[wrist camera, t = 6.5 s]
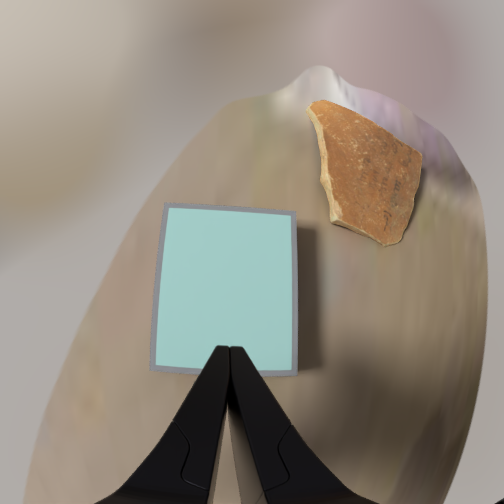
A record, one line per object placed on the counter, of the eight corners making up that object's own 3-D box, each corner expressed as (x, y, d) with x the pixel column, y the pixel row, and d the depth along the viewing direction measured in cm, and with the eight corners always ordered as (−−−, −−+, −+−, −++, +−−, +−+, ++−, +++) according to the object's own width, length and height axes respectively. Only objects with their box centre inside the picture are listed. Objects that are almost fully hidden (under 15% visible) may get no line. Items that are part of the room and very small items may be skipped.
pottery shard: (307, 104, 22) (316, 82, 20) (407, 145, 22) (421, 129, 20) (276, 211, 19) (285, 192, 16) (402, 256, 19) (423, 244, 17)
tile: (297, 375, 14) (296, 211, 16) (149, 370, 13) (164, 202, 15) (285, 371, 16) (285, 228, 18) (158, 366, 15) (170, 221, 18)
